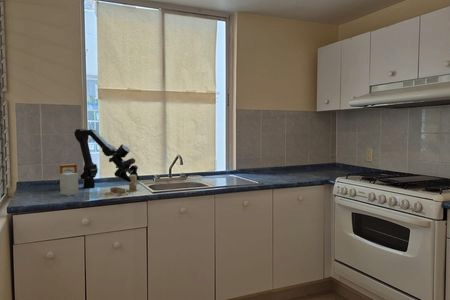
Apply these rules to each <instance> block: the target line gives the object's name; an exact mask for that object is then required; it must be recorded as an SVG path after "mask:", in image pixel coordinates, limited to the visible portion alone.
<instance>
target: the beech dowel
mask: <svg viewBox="0 0 450 300" xmlns="http://www.w3.org/2000/svg"><path fill="white" fill-rule="evenodd" d="M128 177H129V178H130V180H131V182H128V185H129V186H128V188H129V190H128V191H129V192H136V191H137V190H138V189H137V179H136V175H130V174H129V176H128Z"/></svg>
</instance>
